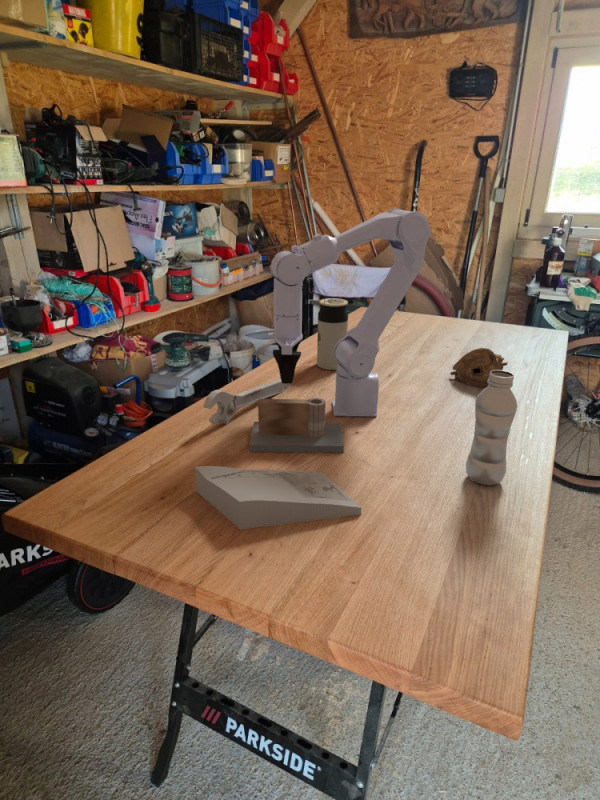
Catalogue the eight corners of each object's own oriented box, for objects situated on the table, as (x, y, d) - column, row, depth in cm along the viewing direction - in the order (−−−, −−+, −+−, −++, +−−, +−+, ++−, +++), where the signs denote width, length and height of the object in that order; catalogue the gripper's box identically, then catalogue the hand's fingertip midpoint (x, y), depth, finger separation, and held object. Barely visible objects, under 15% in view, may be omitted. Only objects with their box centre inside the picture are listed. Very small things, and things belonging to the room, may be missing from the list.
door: (258, 437, 104) (257, 404, 101) (259, 428, 107) (259, 397, 104) (324, 437, 104) (325, 405, 101) (324, 429, 107) (325, 397, 104)
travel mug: (346, 362, 149) (350, 298, 142) (344, 371, 142) (347, 305, 135) (318, 360, 150) (320, 297, 143) (314, 369, 143) (316, 304, 136)
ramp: (365, 487, 91) (367, 460, 89) (358, 546, 77) (360, 515, 75) (209, 471, 96) (207, 445, 93) (176, 524, 81) (173, 494, 79)
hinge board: (340, 429, 111) (341, 409, 109) (343, 452, 101) (344, 431, 100) (254, 428, 111) (253, 408, 109) (249, 451, 101) (249, 430, 100)
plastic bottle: (498, 494, 89) (520, 384, 81) (458, 482, 92) (475, 375, 84) (507, 477, 94) (528, 372, 86) (469, 466, 97) (485, 364, 89)
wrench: (288, 399, 132) (209, 433, 107) (282, 398, 133) (202, 431, 108) (290, 368, 129) (210, 395, 105) (284, 367, 130) (203, 393, 106)
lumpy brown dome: (439, 358, 135) (499, 346, 126) (467, 334, 153) (521, 323, 144) (449, 394, 137) (509, 386, 128) (475, 367, 155) (529, 358, 146)
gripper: (270, 304, 113) (270, 364, 119) (265, 322, 100) (266, 389, 106) (302, 305, 113) (302, 364, 119) (302, 323, 100) (301, 389, 106)
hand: (287, 376), depth 112 cm, fingers open, 7 cm apart
